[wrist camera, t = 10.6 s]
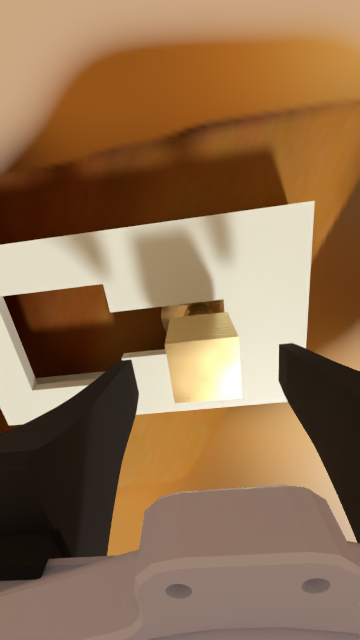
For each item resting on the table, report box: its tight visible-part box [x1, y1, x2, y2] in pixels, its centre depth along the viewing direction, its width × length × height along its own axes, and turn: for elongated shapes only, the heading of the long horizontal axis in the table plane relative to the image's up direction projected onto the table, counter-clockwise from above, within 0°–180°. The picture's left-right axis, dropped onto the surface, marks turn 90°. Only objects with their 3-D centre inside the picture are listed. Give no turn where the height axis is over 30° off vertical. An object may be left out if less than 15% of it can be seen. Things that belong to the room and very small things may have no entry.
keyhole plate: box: [0, 201, 315, 425], centre depth 19 cm, size 24×14×4 cm, turn 97°
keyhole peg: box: [161, 300, 242, 403], centre depth 16 cm, size 6×6×9 cm
